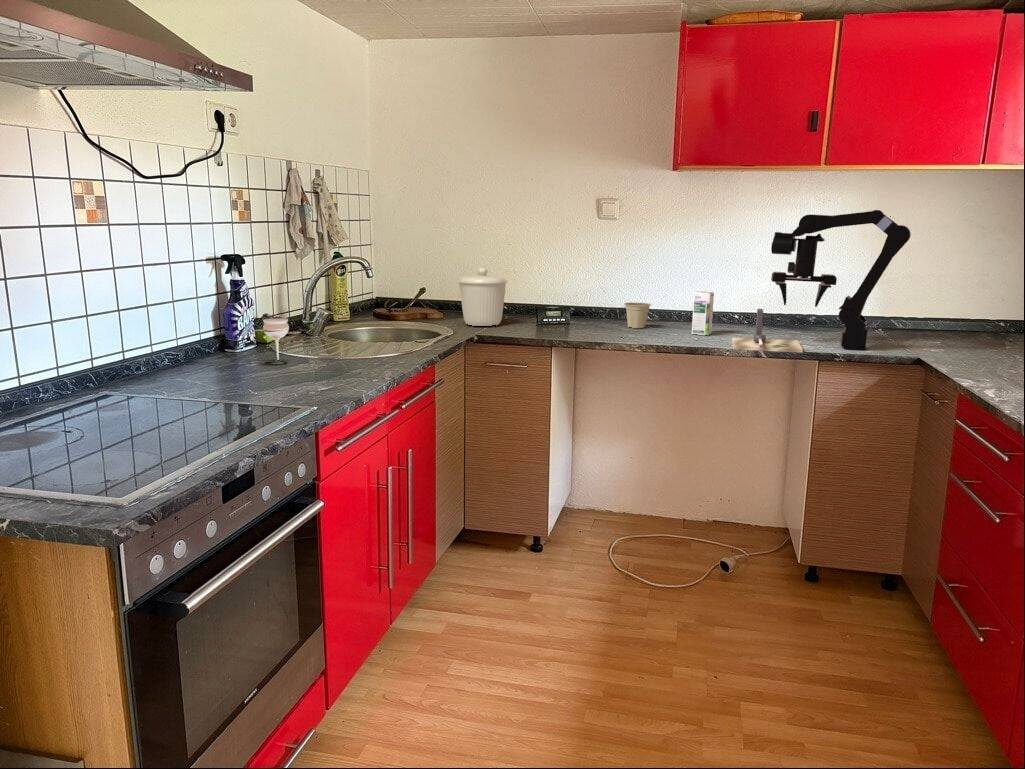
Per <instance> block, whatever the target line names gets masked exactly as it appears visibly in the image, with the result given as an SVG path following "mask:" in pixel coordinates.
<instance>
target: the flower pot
mask: <svg viewBox="0 0 1025 769" xmlns="http://www.w3.org/2000/svg"><path fill="white" fill-rule="evenodd" d="M650 306H652V304H651V303H647V302H624V307H625V310H626V320H627V321H626V322H627V328H629V327H632V328H631V329H634V328H637V329H640V328H643V329H645V328H646V324H647V319H648V314H649V313H648V312H649V310H650ZM644 327H645V328H644Z"/></svg>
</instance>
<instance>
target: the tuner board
mask: <svg viewBox="0 0 1025 769" xmlns="http://www.w3.org/2000/svg"><path fill="white" fill-rule="evenodd" d="M731 340H732V343H731V344H732V349H733V350H740V351H761V352H762V351H764V352H778V353H779V352H783V353H785V352H786V353H804V352H803V350H804V349H803V347H802V345H801V343H800V342H799V341H798V340H796V339H794V340H793V339H777V338H776V339H773V338H772V339H771V338H766V341H765V342H763V345H759V342H754V341H753V340H754V337H753V338H748V337H732V338H731Z"/></svg>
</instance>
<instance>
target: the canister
mask: <svg viewBox="0 0 1025 769" xmlns="http://www.w3.org/2000/svg"><path fill="white" fill-rule="evenodd" d="M457 282H458V284H459V291H460V292H459V293H460V299H461V300H460V301H461V302H460V303H461V308H462V315H463V320H464V323H465V324H466V325H467V324H468V325H467V326H469V325H472V326H471V327H473V326H492V325H496V326H498V325H500V323H501V322H502V318H503V313H504V302H505V296H506V294H505V293H506V285H507V283H508V279H505V278H504V277H503V276H501V275H493V274H491V275H490V274H488V269H487V268H486V267H479V268H478V269H477V274H472V275H464V276H462V277H461V278H460V279H458V280H457ZM492 327H493V326H492Z"/></svg>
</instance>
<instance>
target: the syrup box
mask: <svg viewBox="0 0 1025 769" xmlns="http://www.w3.org/2000/svg"><path fill="white" fill-rule="evenodd" d="M714 299H715V291H695V292H693V300H692V301H693V302H692V321H691V322H692V323H691V335H692V334H697V336H705V335H708V336H709V334H710V335H711V334H712V328H713V327H712V326H713V316H714V314H713V313H714V312H713V311H714Z"/></svg>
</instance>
